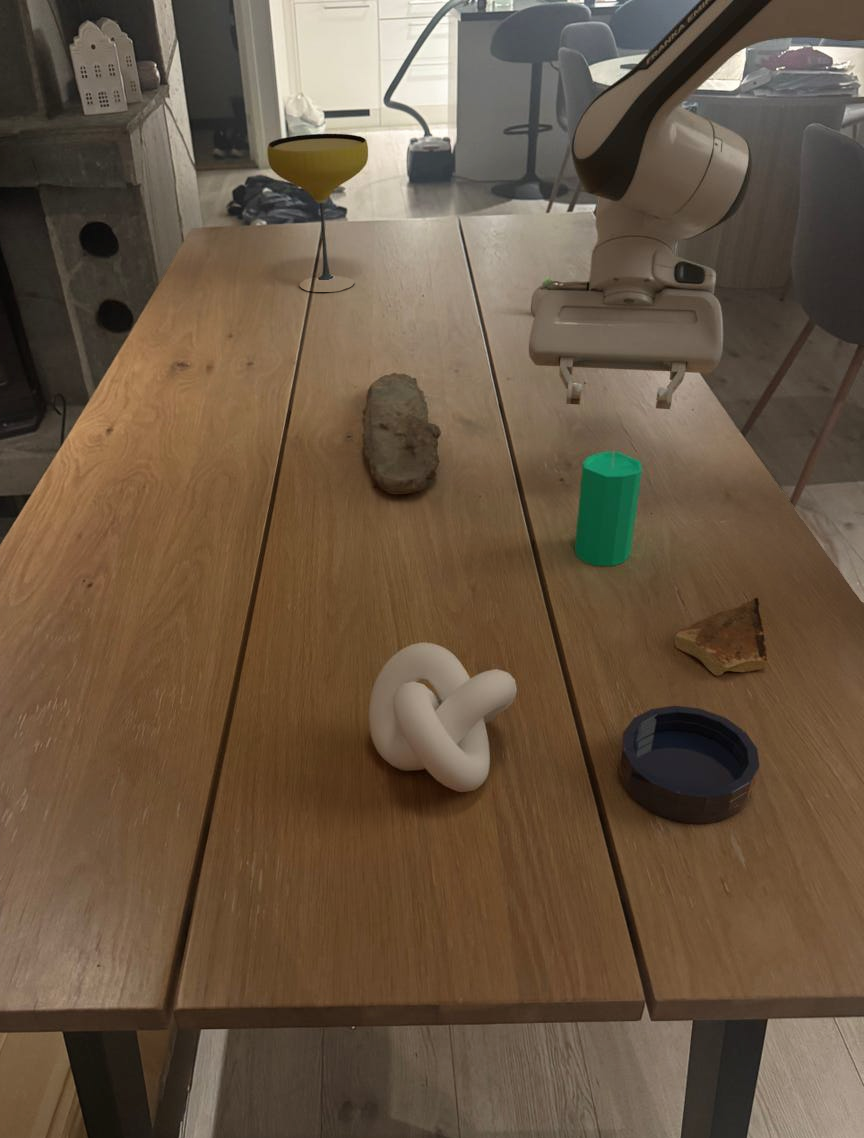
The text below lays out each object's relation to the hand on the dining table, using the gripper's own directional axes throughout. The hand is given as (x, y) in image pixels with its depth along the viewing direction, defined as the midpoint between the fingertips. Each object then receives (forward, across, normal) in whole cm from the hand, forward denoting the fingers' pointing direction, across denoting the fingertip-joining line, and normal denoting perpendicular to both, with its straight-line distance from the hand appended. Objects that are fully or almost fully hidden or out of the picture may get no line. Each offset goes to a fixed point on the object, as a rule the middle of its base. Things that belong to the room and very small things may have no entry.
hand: (617, 404), depth 102 cm
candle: (+15, 0, +4) cm, 16 cm away
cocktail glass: (-50, -56, +69) cm, 102 cm away
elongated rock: (-2, -28, +21) cm, 35 cm away
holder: (+39, +8, -20) cm, 44 cm away
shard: (+26, +11, -6) cm, 29 cm away
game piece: (-40, -12, +60) cm, 73 cm away
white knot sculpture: (+40, -11, -20) cm, 46 cm away
